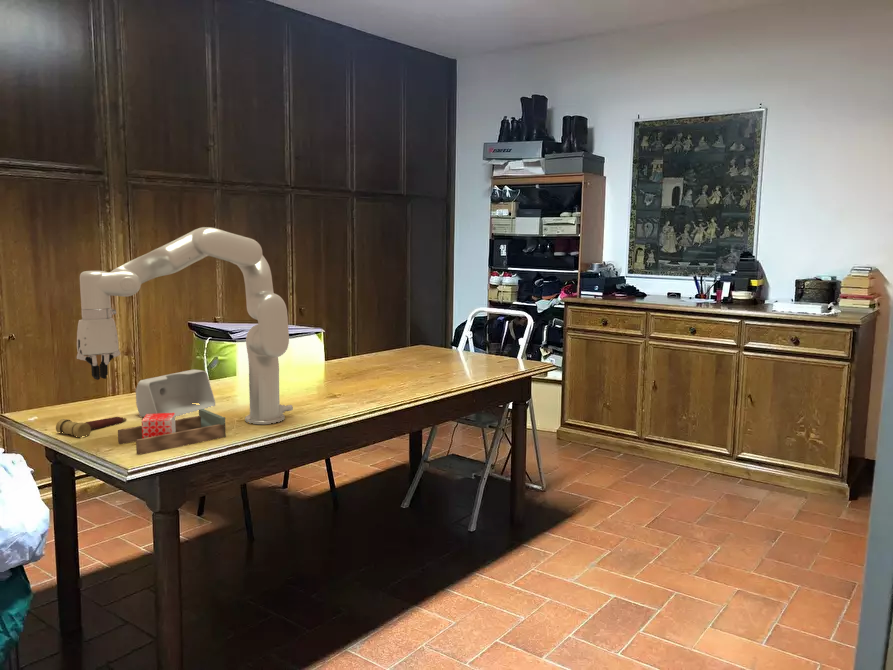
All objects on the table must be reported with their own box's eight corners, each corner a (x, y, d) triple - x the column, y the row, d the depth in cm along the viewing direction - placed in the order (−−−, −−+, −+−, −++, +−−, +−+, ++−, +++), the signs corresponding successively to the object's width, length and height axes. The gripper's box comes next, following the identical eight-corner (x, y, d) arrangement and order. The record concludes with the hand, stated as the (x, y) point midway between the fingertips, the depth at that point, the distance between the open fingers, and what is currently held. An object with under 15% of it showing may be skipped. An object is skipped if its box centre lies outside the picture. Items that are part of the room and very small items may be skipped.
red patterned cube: (147, 440, 213) (146, 413, 211) (175, 438, 214) (174, 412, 213) (142, 447, 205) (141, 420, 204) (172, 446, 207) (171, 419, 205)
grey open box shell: (184, 400, 262) (182, 366, 260) (216, 405, 255) (215, 371, 253) (125, 415, 240) (123, 378, 239) (158, 421, 233) (157, 383, 231)
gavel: (115, 410, 235) (136, 414, 230) (115, 423, 235) (136, 428, 231) (55, 420, 216) (77, 424, 212) (55, 435, 217) (77, 439, 212)
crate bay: (203, 427, 226) (202, 408, 226) (225, 437, 216) (225, 417, 215) (118, 443, 208) (117, 423, 208) (138, 454, 198) (137, 433, 197)
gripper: (119, 311, 211) (122, 373, 214) (62, 315, 201) (66, 380, 203) (129, 314, 206) (132, 377, 209) (71, 317, 195) (75, 384, 198)
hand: (100, 378), depth 206 cm, fingers closed
